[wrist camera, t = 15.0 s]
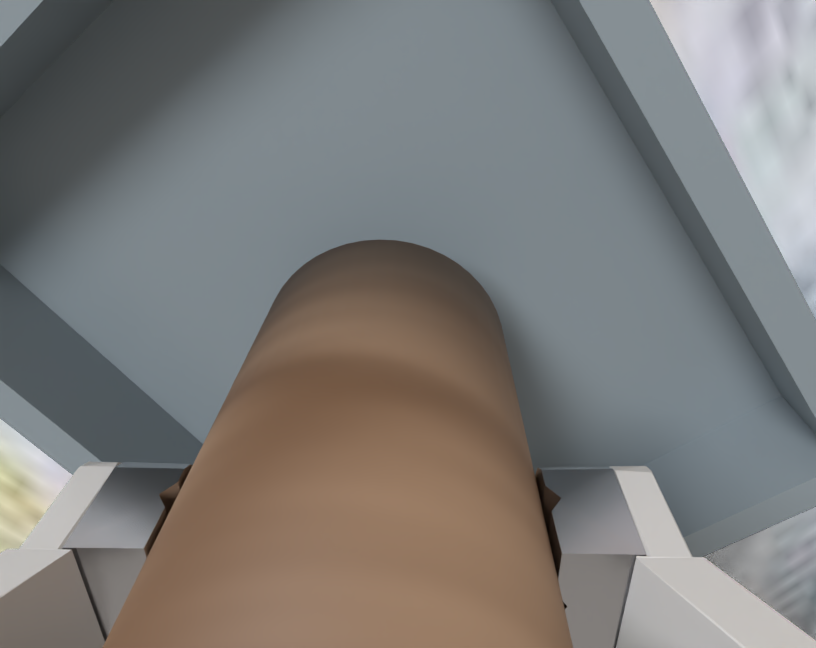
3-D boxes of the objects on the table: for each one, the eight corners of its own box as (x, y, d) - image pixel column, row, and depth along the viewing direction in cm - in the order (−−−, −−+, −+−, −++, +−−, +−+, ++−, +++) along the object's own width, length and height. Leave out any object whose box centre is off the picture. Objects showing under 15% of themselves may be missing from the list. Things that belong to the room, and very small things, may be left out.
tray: (375, 595, 20) (367, 705, 17) (-97, 176, 14) (-242, 228, 11) (805, 378, 16) (894, 471, 13) (397, -353, 10) (386, -505, 7)
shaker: (370, 480, 14) (273, 1310, 5) (215, 333, 13) (-309, 1179, 4) (550, 370, 13) (840, 1261, 4) (402, 187, 11) (296, 1004, 2)
